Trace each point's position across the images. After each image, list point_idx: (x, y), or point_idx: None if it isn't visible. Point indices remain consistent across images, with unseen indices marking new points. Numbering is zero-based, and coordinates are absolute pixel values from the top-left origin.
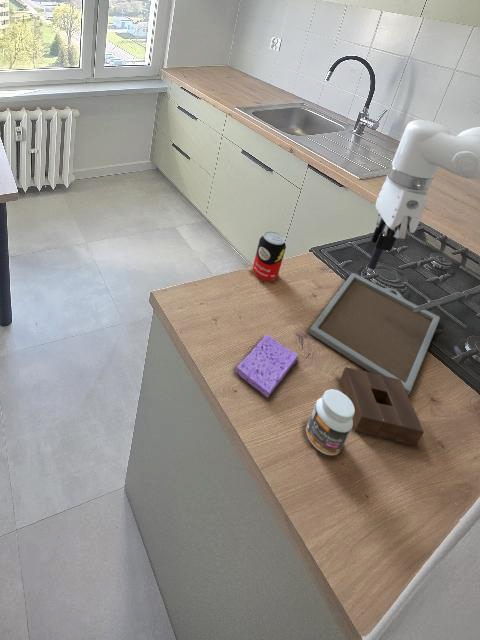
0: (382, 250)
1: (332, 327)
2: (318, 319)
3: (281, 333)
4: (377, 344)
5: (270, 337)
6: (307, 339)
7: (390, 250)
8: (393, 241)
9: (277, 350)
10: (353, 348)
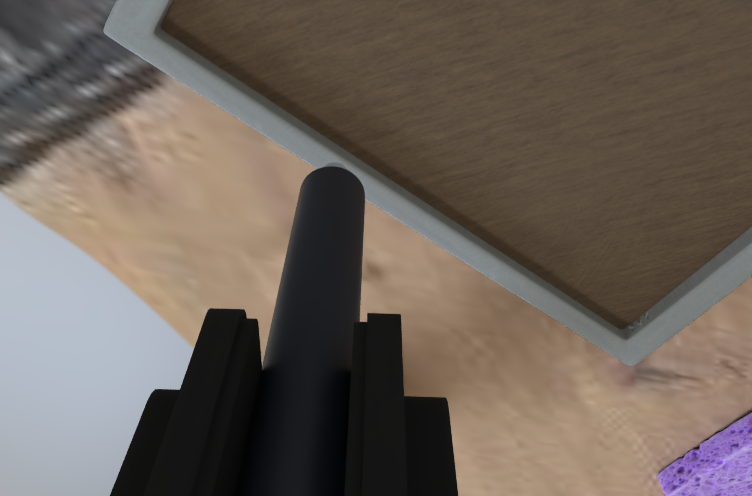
0: (349, 329)
1: (598, 263)
2: (577, 329)
3: (625, 427)
4: (707, 81)
5: (681, 490)
6: (653, 354)
7: (400, 315)
8: (404, 458)
9: (740, 480)
10: (727, 210)
